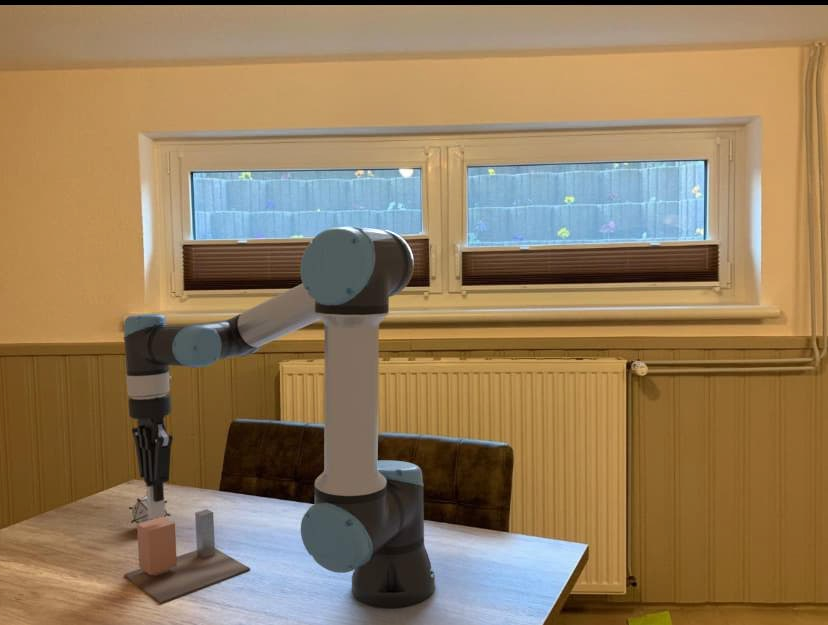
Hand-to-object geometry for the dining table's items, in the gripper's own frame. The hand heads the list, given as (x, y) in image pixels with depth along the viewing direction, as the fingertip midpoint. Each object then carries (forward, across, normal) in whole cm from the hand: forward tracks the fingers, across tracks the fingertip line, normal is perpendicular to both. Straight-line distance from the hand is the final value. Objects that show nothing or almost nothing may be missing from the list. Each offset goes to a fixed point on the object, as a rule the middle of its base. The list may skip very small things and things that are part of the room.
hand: (156, 516), depth 131 cm
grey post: (+12, 0, -10) cm, 15 cm away
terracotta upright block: (+10, 0, 0) cm, 10 cm away
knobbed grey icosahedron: (+12, +25, -9) cm, 29 cm away
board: (+12, -4, -4) cm, 13 cm away
